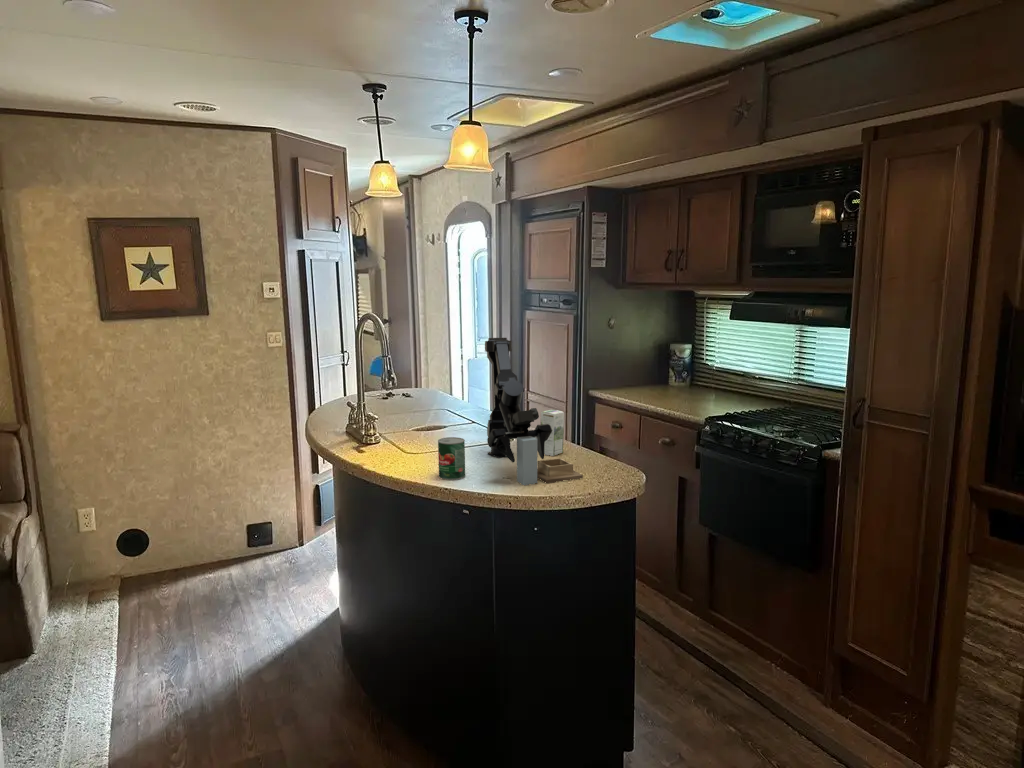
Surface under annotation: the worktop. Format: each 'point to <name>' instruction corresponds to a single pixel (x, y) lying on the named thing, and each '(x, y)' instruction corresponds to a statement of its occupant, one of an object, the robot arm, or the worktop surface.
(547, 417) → the syrup box
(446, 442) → the canned tomato
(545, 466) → the pocket board
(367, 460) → the worktop surface
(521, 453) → the slate peg
